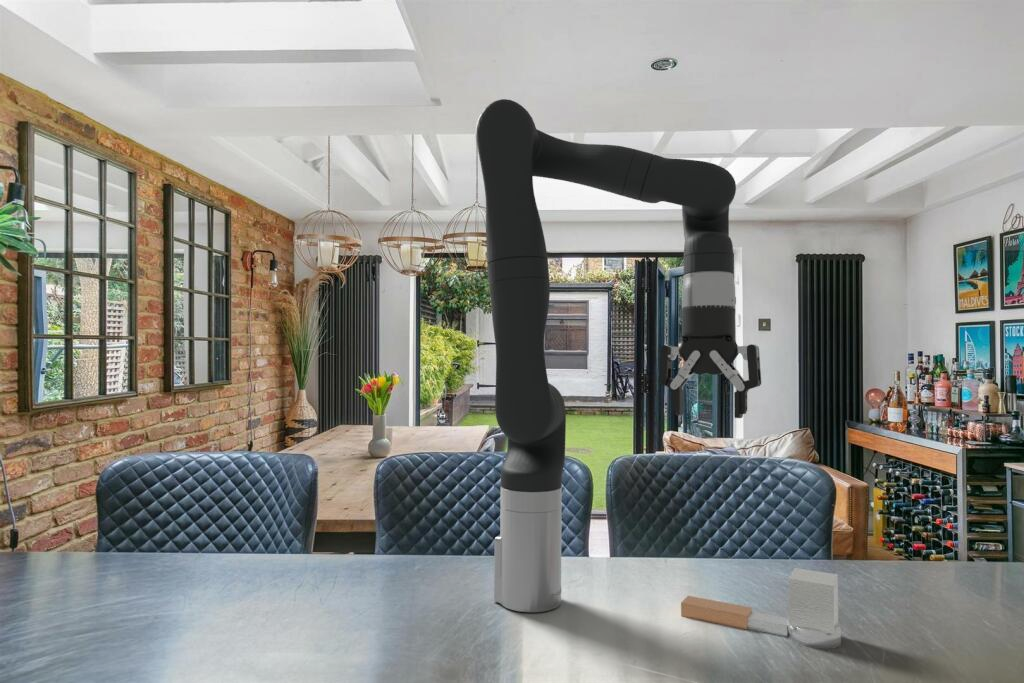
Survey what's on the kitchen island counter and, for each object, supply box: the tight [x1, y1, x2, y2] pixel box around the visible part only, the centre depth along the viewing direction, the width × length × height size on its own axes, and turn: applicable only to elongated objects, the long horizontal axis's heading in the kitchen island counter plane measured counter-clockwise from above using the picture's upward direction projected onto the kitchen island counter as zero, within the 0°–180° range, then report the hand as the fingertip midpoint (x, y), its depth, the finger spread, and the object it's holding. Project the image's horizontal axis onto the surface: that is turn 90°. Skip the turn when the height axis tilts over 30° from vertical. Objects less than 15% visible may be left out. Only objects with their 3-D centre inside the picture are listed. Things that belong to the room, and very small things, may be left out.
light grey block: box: [787, 567, 839, 634], centre depth 86 cm, size 5×5×6 cm
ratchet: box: [680, 595, 842, 650], centre depth 90 cm, size 20×6×5 cm, turn 59°
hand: (708, 416), depth 96 cm, fingers open, 8 cm apart
